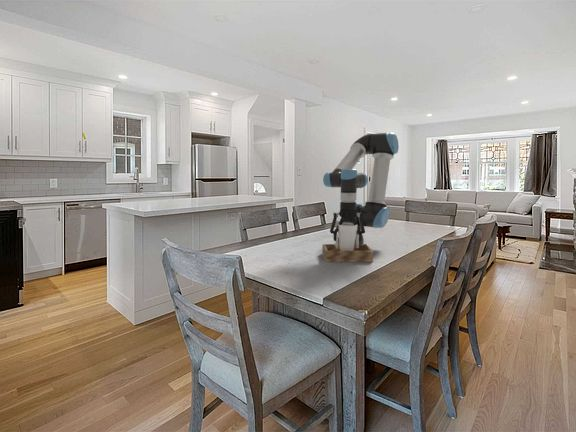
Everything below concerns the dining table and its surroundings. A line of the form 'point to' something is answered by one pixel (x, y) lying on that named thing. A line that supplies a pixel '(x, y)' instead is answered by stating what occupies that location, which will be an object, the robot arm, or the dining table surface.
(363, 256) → the walnut box
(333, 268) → the dining table surface
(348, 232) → the foam cup
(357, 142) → the robot arm
